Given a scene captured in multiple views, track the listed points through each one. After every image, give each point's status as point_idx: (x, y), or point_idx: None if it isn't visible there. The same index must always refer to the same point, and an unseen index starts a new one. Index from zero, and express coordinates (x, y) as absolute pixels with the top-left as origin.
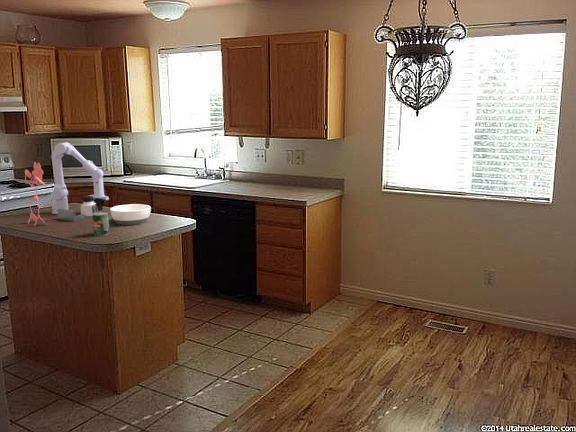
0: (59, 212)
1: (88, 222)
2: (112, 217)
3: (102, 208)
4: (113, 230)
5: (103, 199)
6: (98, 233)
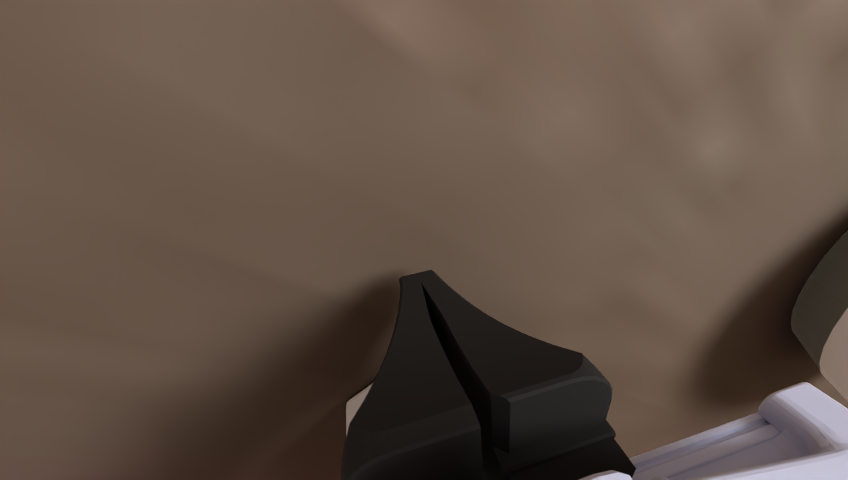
0: None
1: (625, 438)
2: (834, 387)
3: (444, 284)
4: (834, 395)
5: (609, 436)
6: None
